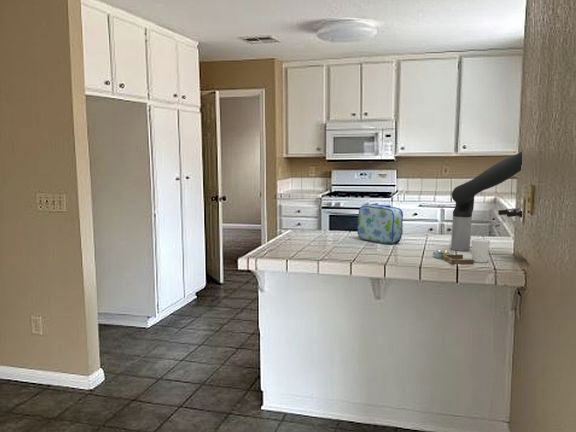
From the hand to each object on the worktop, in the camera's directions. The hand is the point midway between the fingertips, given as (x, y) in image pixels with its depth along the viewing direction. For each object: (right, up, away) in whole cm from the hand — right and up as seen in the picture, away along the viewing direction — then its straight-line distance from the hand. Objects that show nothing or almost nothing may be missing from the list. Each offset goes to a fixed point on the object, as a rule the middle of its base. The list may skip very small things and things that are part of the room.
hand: (502, 213), depth 239 cm
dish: (-25, -21, +9) cm, 34 cm away
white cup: (-10, -22, +2) cm, 25 cm away
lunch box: (-48, -16, +51) cm, 71 cm away
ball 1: (-27, -19, +9) cm, 34 cm away
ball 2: (-24, -19, +7) cm, 31 cm away
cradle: (-20, -22, 0) cm, 30 cm away
